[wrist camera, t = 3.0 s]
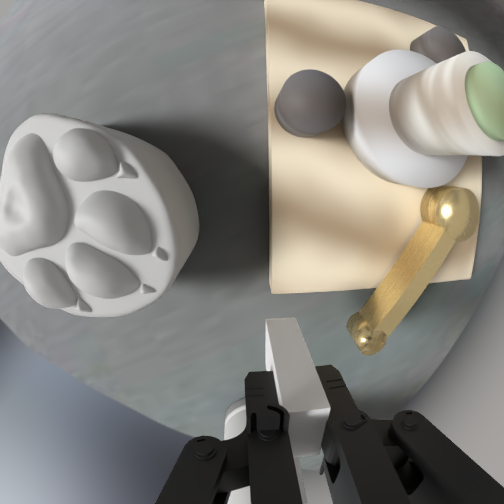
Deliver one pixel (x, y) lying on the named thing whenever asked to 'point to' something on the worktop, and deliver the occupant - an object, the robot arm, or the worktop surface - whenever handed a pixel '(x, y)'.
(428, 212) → the brass ball lever
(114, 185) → the paw-shaped mold
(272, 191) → the base
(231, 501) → the travel mug
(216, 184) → the worktop surface
